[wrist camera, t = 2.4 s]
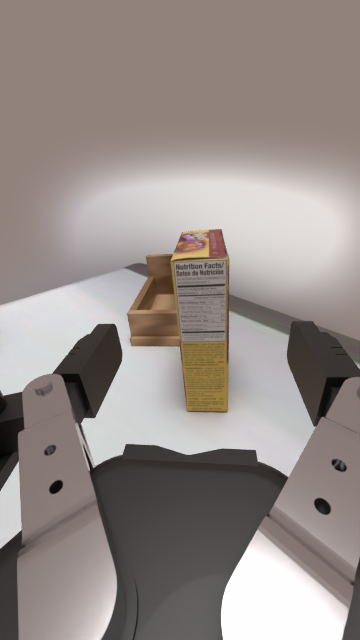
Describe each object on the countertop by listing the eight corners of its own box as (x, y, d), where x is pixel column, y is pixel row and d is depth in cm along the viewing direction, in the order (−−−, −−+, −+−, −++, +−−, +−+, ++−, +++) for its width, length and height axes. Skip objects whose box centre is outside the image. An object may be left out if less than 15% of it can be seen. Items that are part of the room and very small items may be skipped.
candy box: (189, 355, 32) (181, 230, 25) (223, 355, 32) (226, 227, 24) (182, 412, 25) (168, 257, 17) (228, 414, 24) (234, 254, 17)
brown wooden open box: (131, 345, 35) (120, 290, 31) (153, 297, 48) (147, 254, 44) (201, 346, 34) (199, 288, 30) (204, 296, 47) (203, 251, 43)
